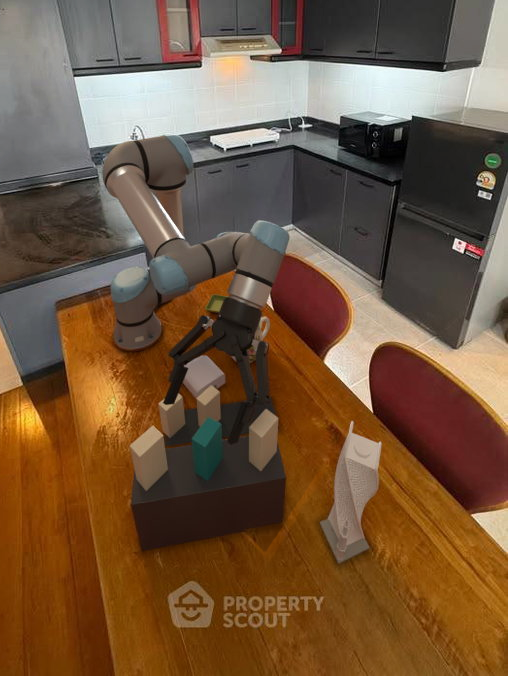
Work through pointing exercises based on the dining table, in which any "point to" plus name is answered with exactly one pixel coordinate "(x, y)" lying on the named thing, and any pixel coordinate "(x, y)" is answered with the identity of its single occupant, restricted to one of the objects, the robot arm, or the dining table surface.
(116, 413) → the dining table surface
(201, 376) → the charger
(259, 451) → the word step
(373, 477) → the skyscraper
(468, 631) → the dining table surface
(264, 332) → the pitcher
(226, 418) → the dark grey block
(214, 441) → the upright teal pillar
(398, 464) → the dining table surface
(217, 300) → the green square dish
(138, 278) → the robot arm
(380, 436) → the dining table surface
